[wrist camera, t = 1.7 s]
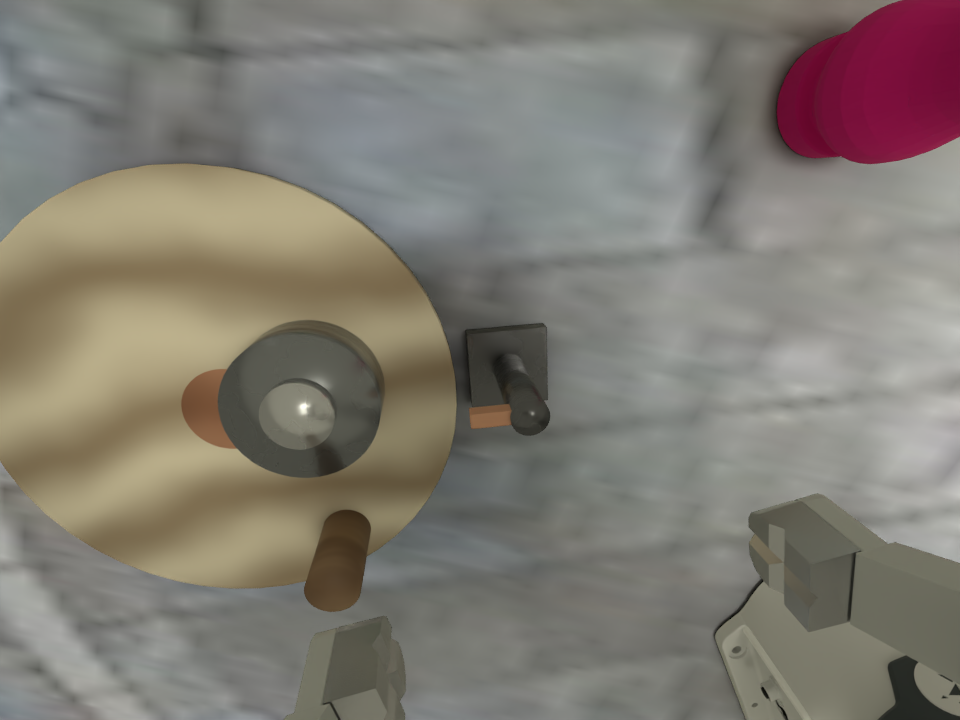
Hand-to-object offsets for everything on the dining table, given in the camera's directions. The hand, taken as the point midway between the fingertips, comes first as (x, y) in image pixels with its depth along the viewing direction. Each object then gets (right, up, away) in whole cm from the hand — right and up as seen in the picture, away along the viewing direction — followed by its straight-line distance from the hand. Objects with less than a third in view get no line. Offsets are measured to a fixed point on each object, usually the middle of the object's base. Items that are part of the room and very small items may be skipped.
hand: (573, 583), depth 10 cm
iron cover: (-11, +3, +17) cm, 21 cm away
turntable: (-17, +2, +18) cm, 25 cm away
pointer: (0, +5, +21) cm, 22 cm away
